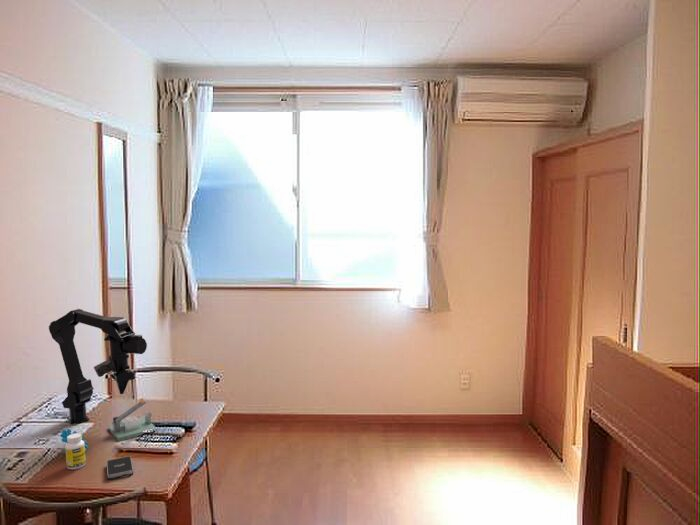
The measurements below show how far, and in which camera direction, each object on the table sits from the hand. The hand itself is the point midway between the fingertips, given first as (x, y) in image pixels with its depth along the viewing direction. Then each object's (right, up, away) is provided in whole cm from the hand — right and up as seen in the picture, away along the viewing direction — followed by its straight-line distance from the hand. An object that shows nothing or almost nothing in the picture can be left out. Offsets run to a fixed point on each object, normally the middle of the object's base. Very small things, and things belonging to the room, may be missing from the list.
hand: (121, 393), depth 202 cm
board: (+6, -12, -4) cm, 14 cm away
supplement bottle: (-1, -15, -31) cm, 35 cm away
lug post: (+10, -12, -1) cm, 15 cm away
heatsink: (+5, -11, -4) cm, 13 cm away
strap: (+5, -5, -5) cm, 9 cm away
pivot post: (+1, -13, -7) cm, 15 cm away
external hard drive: (+14, -16, -35) cm, 41 cm away
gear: (-7, -14, -20) cm, 26 cm away
